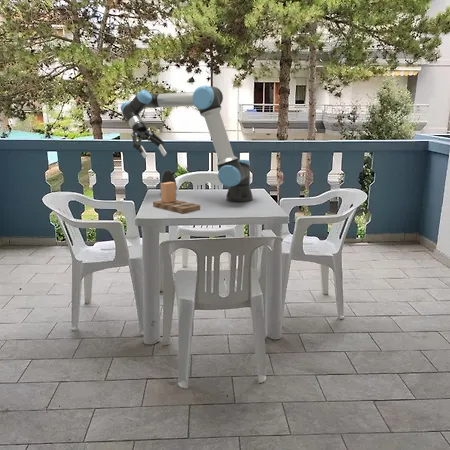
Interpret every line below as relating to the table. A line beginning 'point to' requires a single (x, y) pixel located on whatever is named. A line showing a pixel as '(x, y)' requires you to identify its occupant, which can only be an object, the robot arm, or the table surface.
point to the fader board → (177, 206)
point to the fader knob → (168, 192)
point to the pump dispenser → (168, 177)
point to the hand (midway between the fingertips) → (155, 155)
